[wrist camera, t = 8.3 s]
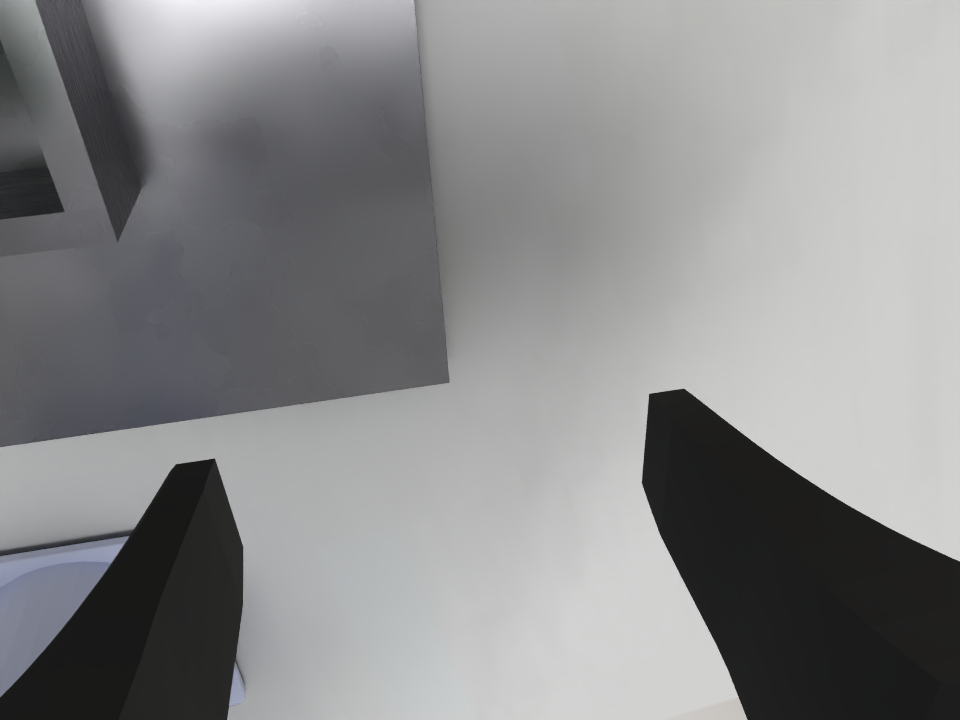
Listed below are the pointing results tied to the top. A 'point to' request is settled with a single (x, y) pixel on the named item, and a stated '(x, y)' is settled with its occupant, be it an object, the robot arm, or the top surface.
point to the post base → (210, 210)
